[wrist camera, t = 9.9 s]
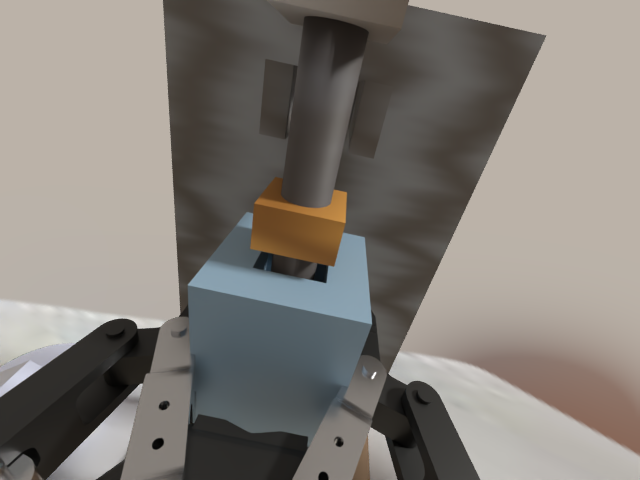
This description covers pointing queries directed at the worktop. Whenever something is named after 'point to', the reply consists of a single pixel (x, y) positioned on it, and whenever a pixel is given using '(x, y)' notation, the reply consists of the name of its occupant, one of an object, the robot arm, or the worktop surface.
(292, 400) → the sleeve
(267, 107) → the grey rod stand
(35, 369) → the wedge on round base
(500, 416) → the worktop surface
